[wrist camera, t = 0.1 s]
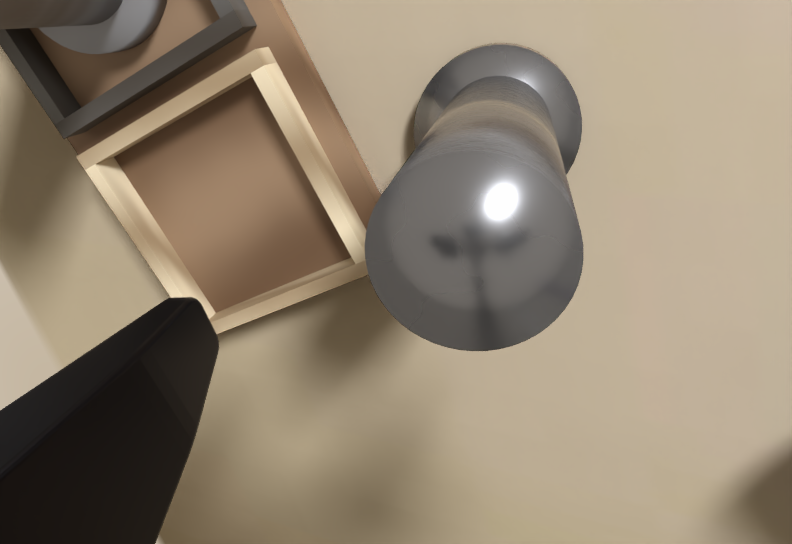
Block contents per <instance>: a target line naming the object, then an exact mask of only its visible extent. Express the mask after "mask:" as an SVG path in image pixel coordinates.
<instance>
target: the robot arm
mask: <svg viewBox="0 0 792 544" xmlns="http://www.w3.org/2000/svg"><path fill="white" fill-rule="evenodd" d="M218 350H219V341H218V336H217V334H216V332H215V330H214V328H213V326H212V324H211V322H210V320H209V318H208V316H207V314H206V312H205V310H204V308H203V306H202V304H201V303H200V301H198V300H197V299H196V298H193V297H174V298H169V299H166V300H165V301H163V302H162V303H160V304H159V305H157V306H156V307H154V308H153V309H151V310H150V311H148V312H147V313H145V314H144V315H142V316H141V317H139V318H138V319H136V320H135V321H133V322H132V323H130V324H129V325H127V326H126V327H124V328H123V329H121V330H120V331H118V332H117V333H115V334H114V335H112V336H111V337H109V338H108V339H106V340H105V341H103V342H102V343H100V344H99V345H97V346H96V347H94V348H93V349H91V350H90V351H88V352H87V353H85V354H84V355H82V356H81V357H80V358H78V359H77V360H75V361H74V362H72V363H71V364H69V365H68V366H66V367H65V368H63V369H62V370H60V371H59V372H57V373H56V374H54V375H53V376H51V377H50V378H48V379H47V380H45V381H44V382H42V383H41V384H39V385H38V386H36V387H35V388H34V389H32V390H30V391H29V392H27V393H26V394H24V395H23V396H21V397H20V398H18V399H17V400H15V401H14V402H12V403H11V404H9V405H8V406H6V407H5V408H3V409H2V410H0V544H155V543H156V540H157V538H158V535H159V532H160V530H161V527H162V525H163V522H164V519H165V517H166V514H167V512H168V509H169V506H170V504H171V501H172V498H173V496H174V493H175V491H176V488H177V485H178V483H179V480H180V478H181V475H182V472H183V470H184V467H185V465H186V462H187V459H188V457H189V454H190V451H191V448H192V445H193V442H194V439H195V436H196V433H197V429H198V426H199V422H200V418H201V415H202V411H203V407H204V403H205V400H206V396H207V392H208V388H209V385H210V381H211V377H212V373H213V370H214V366H215V362H216V358H217V355H218Z"/></svg>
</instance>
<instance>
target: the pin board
mask: <svg viewBox="0 0 792 544" xmlns="http://www.w3.org/2000/svg"><path fill="white" fill-rule="evenodd" d="M0 45H1V47H2V48H3V50H4V51H5V53H6V54H7V56H8V57H9V59H10V60H11V61H12V63H13V64H14V66H15V67H16V69H17V70H18V72H19V73H20V75H21V76H22V78H23V79H24V81H25V82H26V84H27V85H28V87H29V88H30V90H31V91H32V93H33V94H34V95H35V97H36V98H37V100H38V101H39V103H40V104H41V106H42V107H43V109H44V110H45V112H46V113H47V115H48V116H49V118H50V119H51V121H52V122H53V124H54V125H55V127H56V128H57V129H58V131H59V132H60V134H61V135H62V137H63V138H64V139H65V138H67V139H68V140H69V142H70V143H71V145H72V146H73V148H74V149H75V151H76V152H77V153H78V156H76V158H77V159H78V161H79V162H80V163H81V165H82V166H83V168H84V169H85V171H86V172H87V174H88V175H89V177H90V178H91V180H92V181H93V183H94V184H95V186H96V187H97V189H98V190H99V192H100V193H101V195H102V196H103V198H104V199H105V200H106V202H107V203H108V205H109V206H110V208H111V209H112V211H113V212H114V214H115V215H116V217H117V218H118V220H119V221H120V223H121V224H122V226H123V227H124V229H125V230H126V232H127V233H128V234H129V236H130V237H131V239H132V240H133V242H134V243H135V245H136V246H137V248H138V249H139V251H140V252H141V254H142V255H143V257H144V258H145V260H146V261H147V263H148V264H149V266H150V267H151V268H152V270H153V271H154V273H155V274H156V276H157V277H158V279H159V280H160V282H161V283H162V285H163V286H164V288H165V289H166V291H167V292H168V294H169V295H170V297H171V298H174V297H193V298H196V299H197V300H198V301H200V303H201V304H202V306H203V308H204V310H205V312H206V314H207V316H208V318H209V320H210V322H211V324H212V326H213V328H214V330H215V332H216V334H219V333H221V332H224V331H226V330H229V329H231V328H234V327H236V326H239V325H241V324H244V323H247V322H249V321H252V320H254V319H257V318H259V317H262V316H264V315H267V314H269V313H272V312H275V311H277V310H280V309H282V308H285V307H287V306H290V305H292V304H295V303H297V302H300V301H303V300H305V299H308V298H310V297H313V296H315V295H318V294H320V293H323V292H325V291H328V290H331V289H333V288H336V287H338V286H341V285H343V284H346V283H348V282H351V281H353V280H356V279H359V278H361V277H364V276H366V275H369V274H368V271H367V266H366V260H365V237H366V230H367V226H368V222H369V219H370V216H371V214H372V211H373V209H374V207H375V205H376V203H377V202H378V200H379V198H380V196H381V195H380V193H379V191H378V189H377V187H376V185H375V183H374V181H373V179H372V177H371V175H370V173H369V171H368V169H367V167H366V165H365V164H364V162H363V160H362V158H361V156H360V154H359V152H358V150H357V148H356V146H355V144H354V142H353V140H352V138H351V136H350V134H349V132H348V130H347V128H346V126H345V125H344V123H343V121H342V119H341V117H340V115H339V113H338V111H337V109H336V107H335V105H334V103H333V101H332V99H331V97H330V95H329V93H328V91H327V89H326V87H325V86H324V84H323V82H322V80H321V78H320V76H319V74H318V72H317V70H316V68H315V66H314V64H313V62H312V60H311V58H310V56H309V54H308V52H307V50H306V48H305V47H304V45H303V43H302V41H301V39H300V37H299V35H298V33H297V31H296V29H295V27H294V25H293V23H292V21H291V19H290V17H289V15H288V13H287V11H286V9H285V8H284V6H283V4H282V2H281V0H0Z"/></svg>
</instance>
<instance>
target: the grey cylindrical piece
mask: <svg viewBox="0 0 792 544" xmlns="http://www.w3.org/2000/svg"><path fill="white" fill-rule="evenodd" d="M581 133H582V118H581V111H580V106H579V103H578V100H577V96H576V94H575V92H574V90H573V88H572V86H571V84H570V82H569V81H568V79H567V78H566V76H565V75H564V73H563V72H562V71H561V70H560V69H559V68H558V66H557V65H556V64H554V63H553V62H552V61H551V60H550V59H549V58H547V57H546V56H544V55H542V54H541V53H539V52H537V51H535V50H533V49H530V48H528V47H524V46H521V45H517V44H509V43H494V44H487V45H482V46H479V47H475V48H473V49H470V50H468V51H466V52H463V53H462V54H460V55H458V56H457V57H455V58H454V59H452V60H451V61H450V62H449V63H447V64H446V65H445V66H444V67H442V68H441V69H440V70H439V72H438V73H437V74H436V75H435V76H434V77H433V78H432V80H431V81H430V82H429V84H428V85H427V87H426V89H425V90H424V92H423V94H422V96H421V99H420V101H419V104H418V107H417V111H416V115H415V121H414V141H415V148H416V149H415V150H414V151H413V153H412V154H411V156H410V157H409V158H408V160H407V161H406V162H405V164H404V165H403V166H402V168H401V169H400V171H399V172H398V173H397V175H396V176H395V177H394V179H393V180H392V181H391V183H390V184H389V186H388V187H387V188H386V190H385V191H384V192H383V194H382V195H381V196H380V198H379V200H378V202H377V203H376V205H375V207H374V209H373V211H372V214H371V216H370V219H369V222H368V226H367V230H366V237H365V260H366V266H367V271H368V274H369V277H370V280H371V283H372V285H373V287H374V289H375V292H376V294H377V295H378V297H379V299H380V300H381V302H382V303H383V305H384V306H385V307H386V308H387V310H388V311H389V312H390V313H391V315H393V316H394V317H395V318H396V319H397V320H398V321H399V322H400V323H401V324H402V325H404V326H405V327H406V328H407V329H409V330H410V331H412V332H413V333H415V334H417V335H418V336H420V337H422V338H424V339H426V340H428V341H430V342H433V343H435V344H438V345H441V346H444V347H448V348H453V349H458V350H466V351H488V350H496V349H501V348H506V347H510V346H513V345H516V344H518V343H521V342H524V341H526V340H528V339H530V338H531V337H533V336H535V335H537V334H538V333H540V332H541V331H543V330H544V329H546V328H547V327H548V326H549V325H550V324H551V323H552V322H554V321H555V320H556V319H557V318H558V317H559V315H560V314H561V313H562V312H563V311H564V310H565V308H566V307H567V305H568V304H569V302H570V300H571V299H572V297H573V295H574V293H575V291H576V288H577V286H578V283H579V280H580V276H581V273H582V265H583V242H582V235H581V230H580V226H579V223H578V219H577V215H576V211H575V207H574V203H573V200H572V196H571V192H570V188H569V184H568V180H567V177H566V174H567V173H568V171H569V170H570V168H571V166H572V164H573V162H574V160H575V157H576V155H577V152H578V149H579V145H580V141H581Z"/></svg>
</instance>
